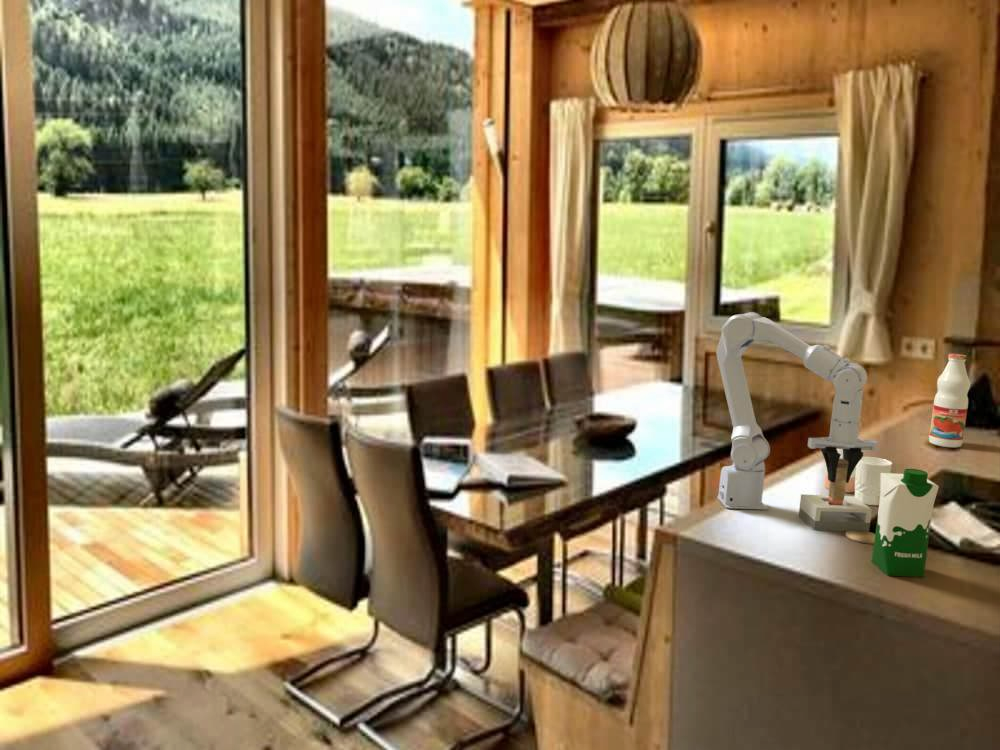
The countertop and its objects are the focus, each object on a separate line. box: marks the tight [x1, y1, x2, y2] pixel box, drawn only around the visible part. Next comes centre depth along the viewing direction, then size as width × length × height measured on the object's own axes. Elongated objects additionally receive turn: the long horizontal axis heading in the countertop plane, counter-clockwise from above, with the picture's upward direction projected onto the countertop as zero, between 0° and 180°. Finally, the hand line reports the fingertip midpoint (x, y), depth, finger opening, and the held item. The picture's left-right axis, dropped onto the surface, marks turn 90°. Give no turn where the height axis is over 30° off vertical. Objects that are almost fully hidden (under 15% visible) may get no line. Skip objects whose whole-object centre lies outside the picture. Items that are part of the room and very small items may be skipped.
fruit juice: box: [928, 353, 971, 448], centre depth 278 cm, size 9×9×28 cm
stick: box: [828, 459, 848, 500], centre depth 197 cm, size 2×2×8 cm
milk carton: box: [870, 468, 940, 578], centre depth 172 cm, size 9×9×20 cm
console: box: [798, 494, 873, 532], centre depth 198 cm, size 12×9×5 cm
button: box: [827, 497, 844, 506], centre depth 198 cm, size 3×3×3 cm
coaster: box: [845, 530, 876, 545], centre depth 190 cm, size 7×7×1 cm
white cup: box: [854, 455, 893, 506], centre depth 216 cm, size 8×8×10 cm
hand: (838, 481), depth 197 cm, fingers closed on stick, 2 cm apart
